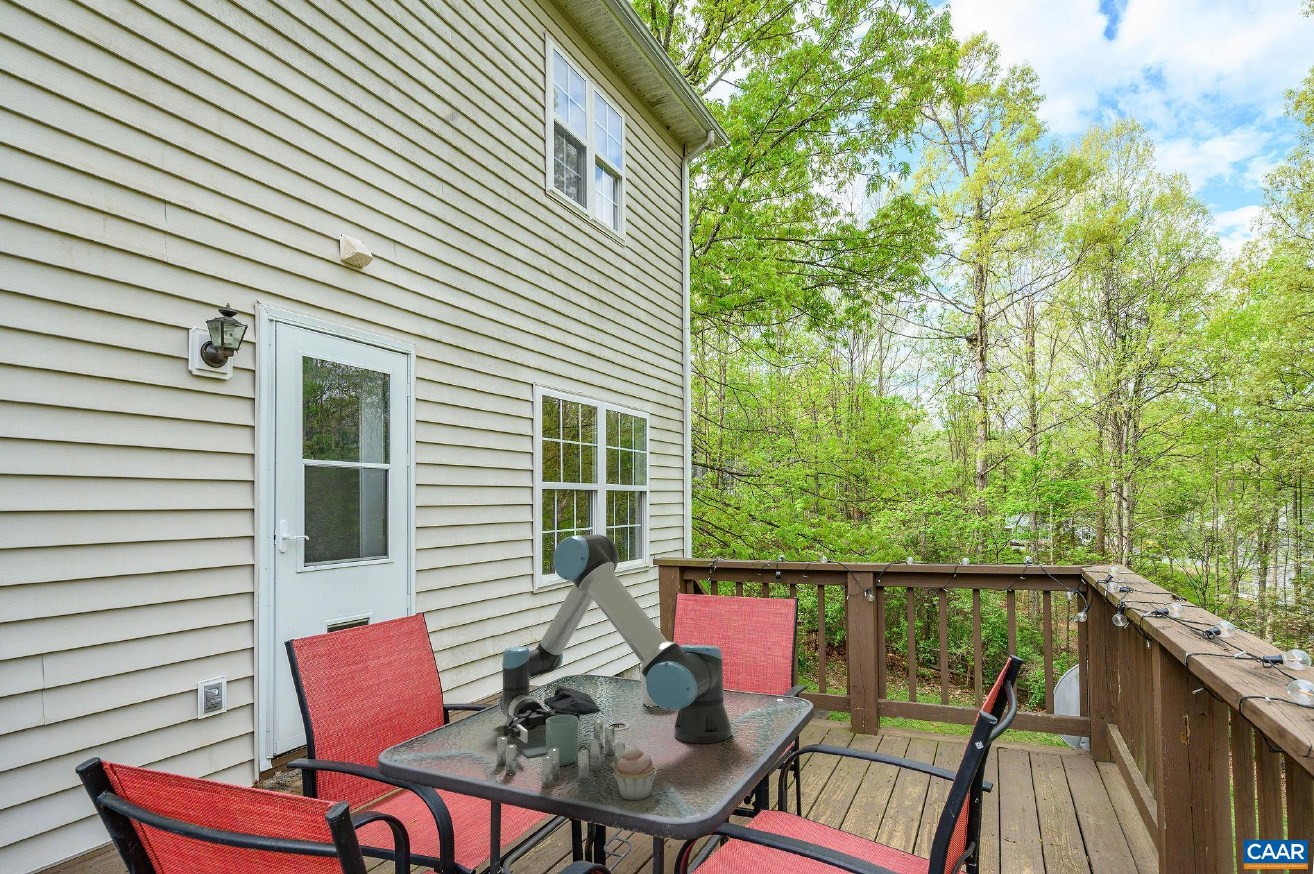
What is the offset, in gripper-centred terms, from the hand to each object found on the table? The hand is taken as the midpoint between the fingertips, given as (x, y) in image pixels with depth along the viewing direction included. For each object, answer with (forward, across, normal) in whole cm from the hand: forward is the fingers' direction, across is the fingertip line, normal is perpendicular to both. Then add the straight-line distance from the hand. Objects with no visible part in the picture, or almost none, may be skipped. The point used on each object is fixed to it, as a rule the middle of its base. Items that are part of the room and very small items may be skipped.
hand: (553, 732), depth 166 cm
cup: (+5, 0, -6) cm, 8 cm away
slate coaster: (-9, 0, -6) cm, 11 cm away
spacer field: (+8, -3, -6) cm, 10 cm away
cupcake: (+31, -7, -6) cm, 33 cm away
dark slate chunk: (-43, -22, -7) cm, 49 cm away
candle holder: (-30, -45, -6) cm, 54 cm away
